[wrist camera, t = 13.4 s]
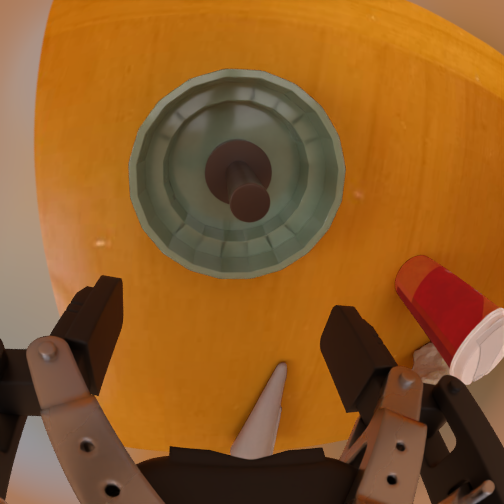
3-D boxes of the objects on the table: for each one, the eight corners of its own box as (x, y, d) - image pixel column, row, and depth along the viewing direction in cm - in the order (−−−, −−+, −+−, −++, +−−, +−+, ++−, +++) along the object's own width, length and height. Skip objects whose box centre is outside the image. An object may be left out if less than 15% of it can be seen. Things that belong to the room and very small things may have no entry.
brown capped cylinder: (193, 162, 24) (174, 191, 14) (245, 126, 23) (266, 129, 13) (228, 209, 26) (236, 270, 16) (278, 176, 25) (320, 216, 15)
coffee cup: (433, 297, 34) (500, 369, 21) (383, 312, 34) (445, 400, 20) (443, 240, 31) (529, 305, 17) (389, 251, 30) (475, 333, 17)
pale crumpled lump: (467, 326, 41) (498, 317, 28) (472, 365, 39) (504, 370, 26) (389, 346, 46) (396, 346, 33) (394, 386, 44) (401, 401, 31)
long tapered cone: (242, 383, 31) (234, 467, 36) (297, 377, 32) (274, 461, 38) (233, 353, 36) (227, 440, 42) (281, 349, 38) (264, 435, 43)
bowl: (115, 151, 23) (89, 160, 18) (259, 50, 21) (271, 31, 16) (214, 276, 29) (214, 311, 24) (346, 190, 27) (375, 208, 22)
